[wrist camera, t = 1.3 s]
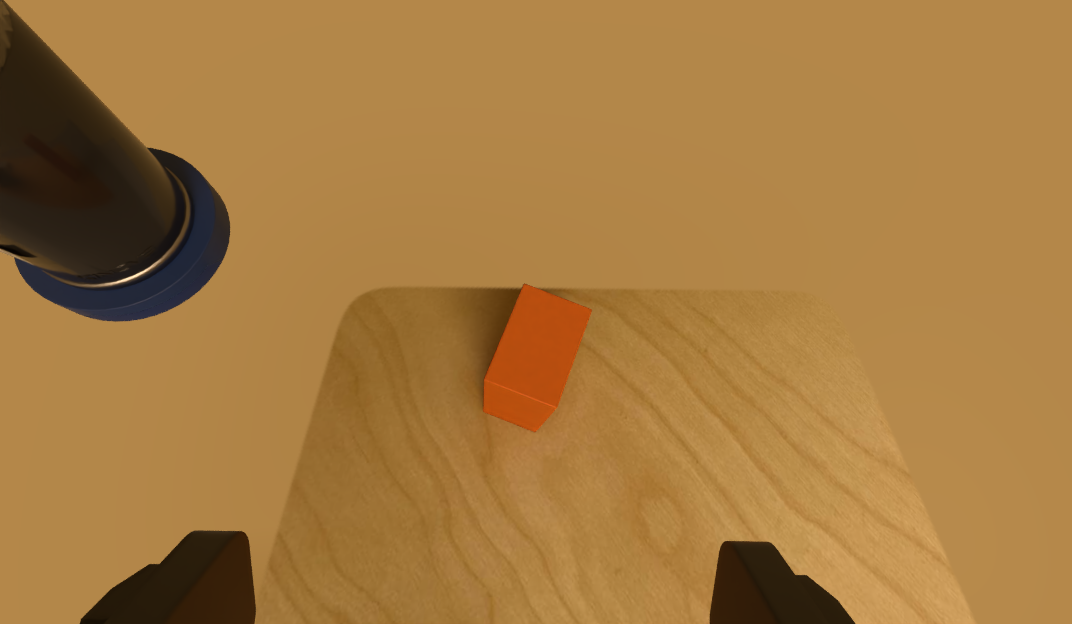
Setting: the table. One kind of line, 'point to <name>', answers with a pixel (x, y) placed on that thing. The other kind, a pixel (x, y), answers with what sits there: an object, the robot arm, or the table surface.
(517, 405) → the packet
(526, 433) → the table surface
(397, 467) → the table surface
